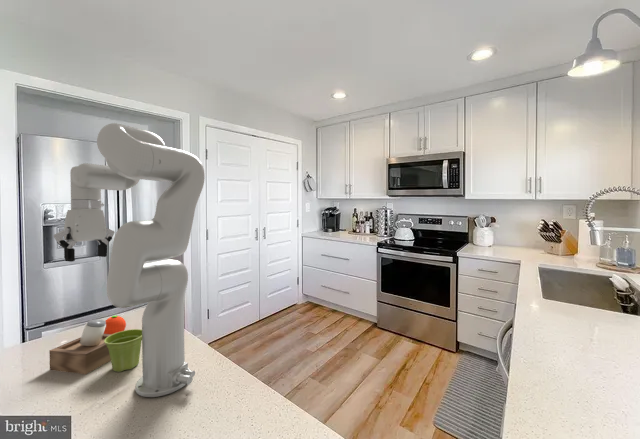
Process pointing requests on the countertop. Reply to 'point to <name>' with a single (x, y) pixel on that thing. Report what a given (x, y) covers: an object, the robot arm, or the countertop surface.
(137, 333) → the plant pot
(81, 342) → the white rounded cylinder
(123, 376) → the countertop surface
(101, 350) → the tray
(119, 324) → the clementine
